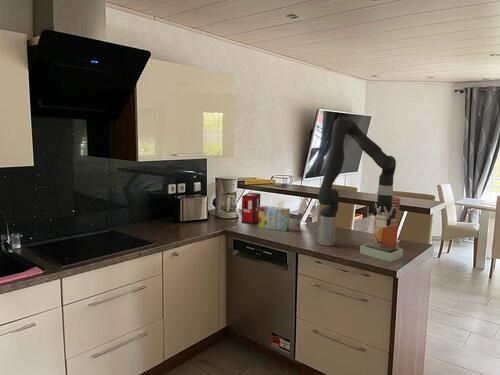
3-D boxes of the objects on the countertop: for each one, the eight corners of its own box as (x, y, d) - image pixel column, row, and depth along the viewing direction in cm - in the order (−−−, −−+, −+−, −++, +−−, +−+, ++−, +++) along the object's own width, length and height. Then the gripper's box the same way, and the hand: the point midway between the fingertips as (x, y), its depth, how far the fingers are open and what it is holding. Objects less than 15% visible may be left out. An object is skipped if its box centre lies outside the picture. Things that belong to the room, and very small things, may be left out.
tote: (359, 254, 208) (360, 245, 207) (372, 250, 217) (372, 241, 216) (390, 263, 195) (391, 254, 194) (402, 258, 204) (403, 249, 203)
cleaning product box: (248, 218, 289) (249, 192, 286) (259, 219, 286) (260, 193, 284) (241, 223, 273) (242, 195, 271) (253, 224, 271) (254, 196, 268)
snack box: (289, 229, 258) (290, 208, 256) (286, 231, 253) (287, 209, 251) (261, 225, 268) (261, 204, 266) (257, 227, 263) (258, 206, 261)
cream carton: (375, 225, 202) (375, 214, 201) (382, 224, 207) (382, 213, 206) (384, 227, 198) (384, 216, 197) (390, 225, 203) (391, 214, 202)
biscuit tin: (367, 254, 207) (367, 245, 206) (375, 250, 213) (376, 242, 212) (388, 259, 198) (389, 250, 197) (396, 256, 204) (397, 247, 203)
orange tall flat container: (373, 238, 242) (376, 192, 238) (386, 239, 241) (389, 192, 237) (381, 249, 219) (385, 198, 215) (395, 250, 218) (400, 198, 214)
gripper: (369, 192, 203) (367, 223, 205) (394, 195, 192) (392, 228, 195) (376, 191, 208) (374, 221, 210) (401, 194, 197) (399, 226, 200)
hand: (383, 224), depth 202 cm, fingers closed on cream carton, 5 cm apart
